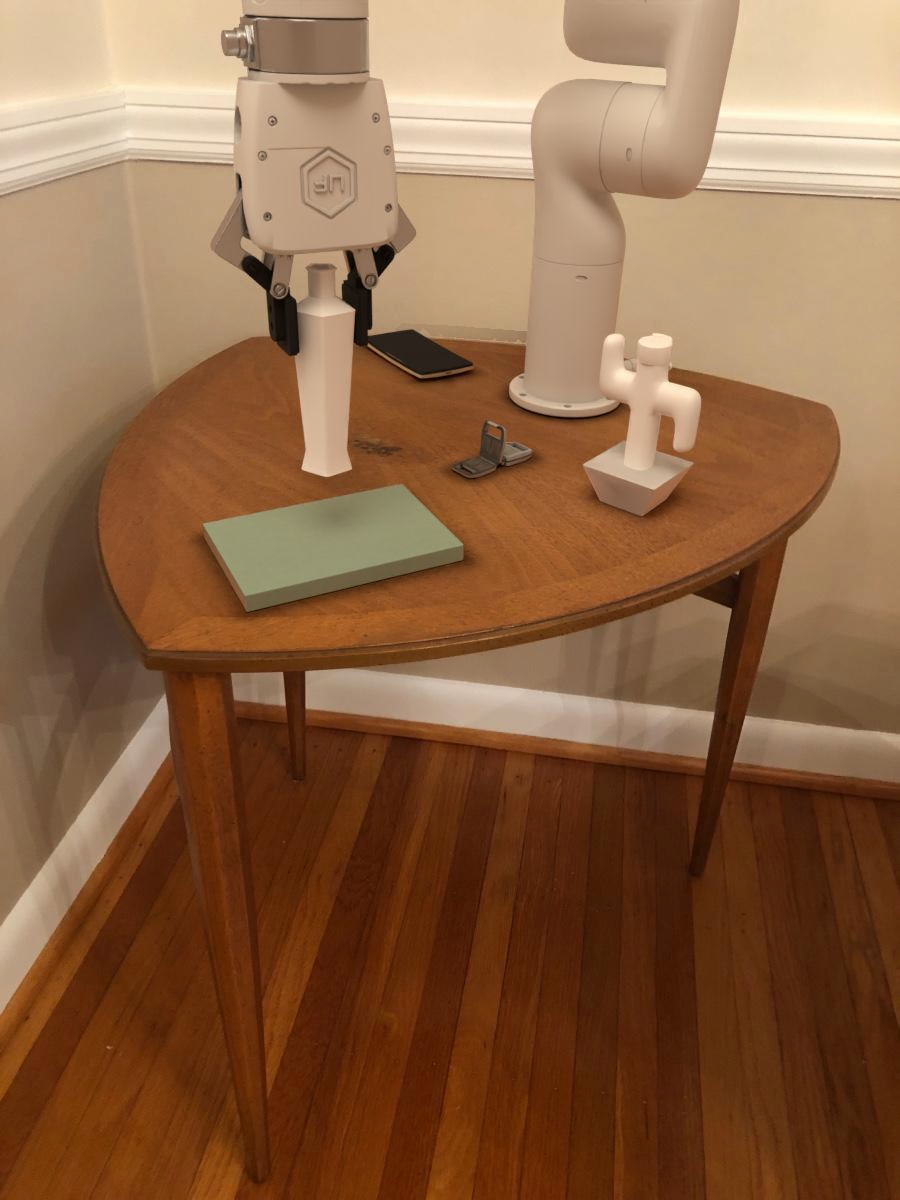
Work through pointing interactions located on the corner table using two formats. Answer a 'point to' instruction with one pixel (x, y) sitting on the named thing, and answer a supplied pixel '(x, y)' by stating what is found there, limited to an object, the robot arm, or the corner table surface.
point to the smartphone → (418, 354)
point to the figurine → (643, 426)
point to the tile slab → (329, 545)
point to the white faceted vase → (324, 372)
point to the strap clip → (493, 453)
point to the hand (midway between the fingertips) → (322, 342)
